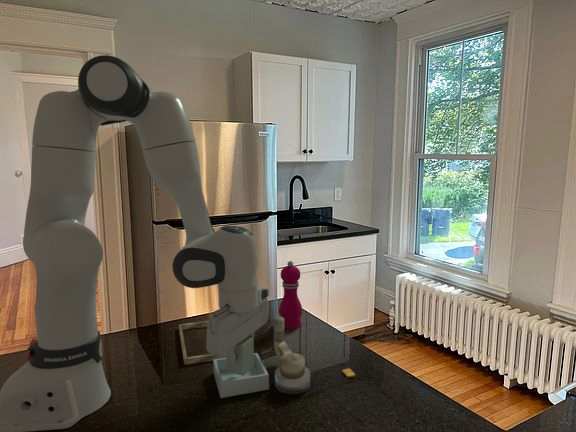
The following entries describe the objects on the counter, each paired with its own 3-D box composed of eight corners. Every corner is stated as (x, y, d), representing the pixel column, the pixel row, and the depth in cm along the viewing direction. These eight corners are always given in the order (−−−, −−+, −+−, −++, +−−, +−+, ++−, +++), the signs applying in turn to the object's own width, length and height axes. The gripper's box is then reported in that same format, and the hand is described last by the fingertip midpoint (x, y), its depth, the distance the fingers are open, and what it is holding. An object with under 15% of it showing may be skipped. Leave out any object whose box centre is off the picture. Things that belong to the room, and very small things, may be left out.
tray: (220, 398, 89) (220, 382, 89) (213, 373, 99) (213, 359, 99) (268, 389, 92) (268, 374, 92) (257, 366, 102) (257, 352, 102)
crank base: (280, 397, 89) (280, 384, 89) (270, 378, 97) (270, 367, 97) (360, 382, 95) (360, 370, 95) (345, 365, 103) (345, 354, 102)
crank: (308, 376, 92) (308, 339, 91) (284, 380, 91) (284, 343, 89) (288, 347, 106) (288, 315, 105) (267, 350, 104) (266, 318, 103)
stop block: (243, 376, 93) (242, 346, 92) (226, 371, 95) (225, 342, 94) (254, 366, 97) (253, 338, 96) (237, 362, 99) (237, 334, 98)
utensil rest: (184, 365, 103) (183, 359, 103) (178, 329, 125) (178, 324, 124) (230, 357, 107) (230, 352, 107) (217, 324, 128) (217, 319, 128)
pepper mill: (300, 330, 123) (300, 264, 120) (276, 328, 125) (275, 263, 122) (304, 320, 130) (304, 258, 127) (281, 319, 132) (281, 257, 129)
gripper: (222, 316, 83) (225, 381, 85) (272, 287, 101) (273, 341, 103) (197, 311, 85) (200, 374, 87) (250, 283, 103) (251, 336, 106)
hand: (240, 356), depth 95 cm, fingers closed on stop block, 4 cm apart
